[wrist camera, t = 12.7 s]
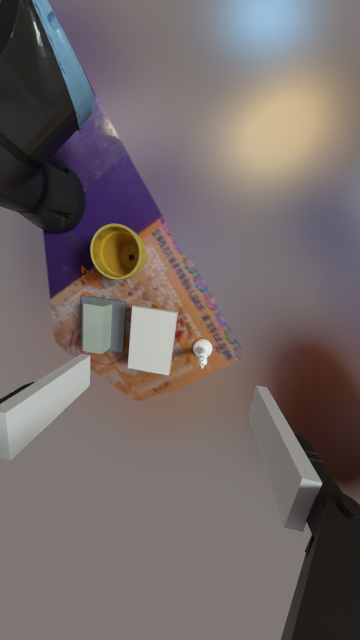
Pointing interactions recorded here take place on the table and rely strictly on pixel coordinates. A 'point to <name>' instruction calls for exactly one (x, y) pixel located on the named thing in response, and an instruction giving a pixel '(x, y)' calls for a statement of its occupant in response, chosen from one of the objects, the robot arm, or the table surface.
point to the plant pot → (117, 252)
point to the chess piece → (202, 351)
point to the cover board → (151, 339)
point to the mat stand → (102, 324)
